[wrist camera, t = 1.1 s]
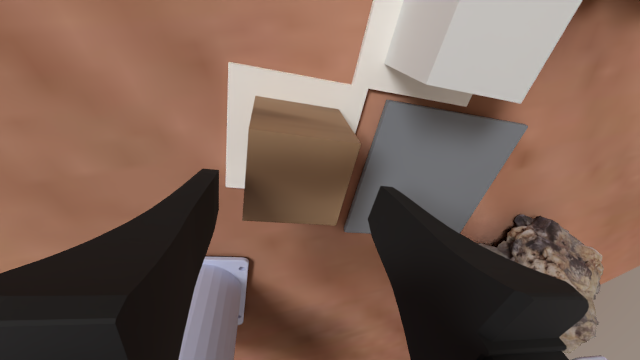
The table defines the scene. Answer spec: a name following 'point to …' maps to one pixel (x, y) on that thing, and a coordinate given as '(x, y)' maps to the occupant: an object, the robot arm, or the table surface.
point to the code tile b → (383, 76)
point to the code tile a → (283, 87)
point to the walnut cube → (297, 163)
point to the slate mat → (433, 161)
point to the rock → (557, 265)
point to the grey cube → (478, 43)
